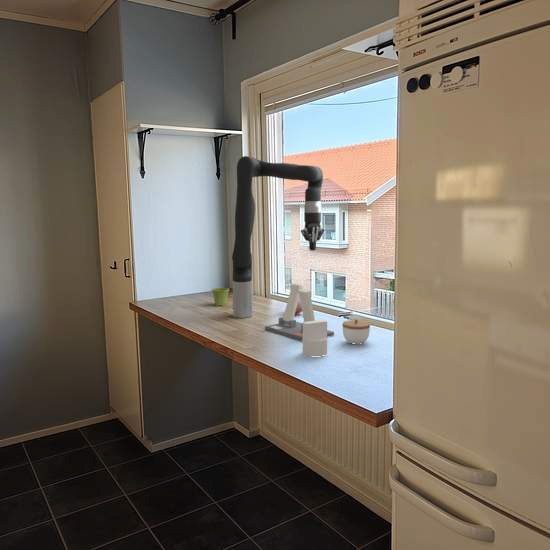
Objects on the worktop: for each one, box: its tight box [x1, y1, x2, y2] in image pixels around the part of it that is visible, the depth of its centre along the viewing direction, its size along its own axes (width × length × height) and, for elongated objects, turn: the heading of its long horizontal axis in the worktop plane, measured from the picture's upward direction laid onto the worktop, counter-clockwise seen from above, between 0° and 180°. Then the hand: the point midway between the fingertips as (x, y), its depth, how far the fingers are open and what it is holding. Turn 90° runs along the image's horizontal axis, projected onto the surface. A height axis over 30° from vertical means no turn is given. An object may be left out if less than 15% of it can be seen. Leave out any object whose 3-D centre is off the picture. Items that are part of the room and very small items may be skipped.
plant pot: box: [211, 287, 230, 307], centre depth 280 cm, size 9×9×9 cm
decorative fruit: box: [286, 296, 303, 315], centre depth 257 cm, size 9×8×10 cm
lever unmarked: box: [282, 283, 304, 324], centre depth 229 cm, size 2×5×17 cm, turn 39°
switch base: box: [264, 316, 335, 342], centre depth 223 cm, size 16×26×4 cm, turn 39°
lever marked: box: [298, 288, 316, 322], centre depth 215 cm, size 2×5×17 cm, turn 38°
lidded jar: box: [342, 318, 371, 345], centre depth 207 cm, size 11×11×9 cm
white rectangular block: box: [301, 319, 328, 357], centre depth 192 cm, size 9×9×12 cm
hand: (312, 250), depth 238 cm, fingers closed
